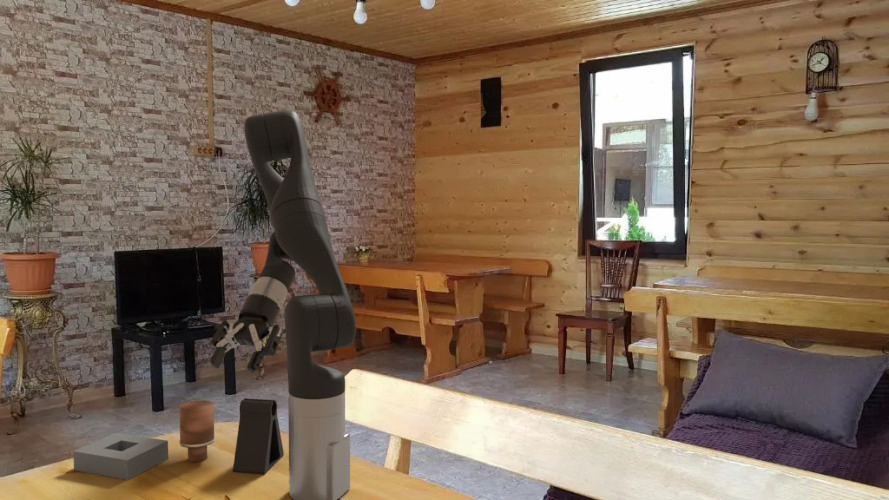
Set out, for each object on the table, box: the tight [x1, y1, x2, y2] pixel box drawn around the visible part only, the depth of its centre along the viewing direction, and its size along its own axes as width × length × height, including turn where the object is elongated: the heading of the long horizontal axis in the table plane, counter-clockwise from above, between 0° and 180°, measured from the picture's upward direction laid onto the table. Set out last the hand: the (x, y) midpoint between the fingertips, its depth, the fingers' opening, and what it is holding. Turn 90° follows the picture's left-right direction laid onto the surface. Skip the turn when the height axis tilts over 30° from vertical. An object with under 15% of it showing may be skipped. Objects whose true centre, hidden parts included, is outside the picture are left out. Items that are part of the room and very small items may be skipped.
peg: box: [178, 400, 216, 463], centre depth 128 cm, size 6×6×10 cm
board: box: [73, 432, 169, 481], centre depth 126 cm, size 12×10×4 cm
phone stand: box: [232, 397, 285, 475], centre depth 126 cm, size 9×6×12 cm, turn 171°
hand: (232, 368), depth 138 cm, fingers open, 8 cm apart
